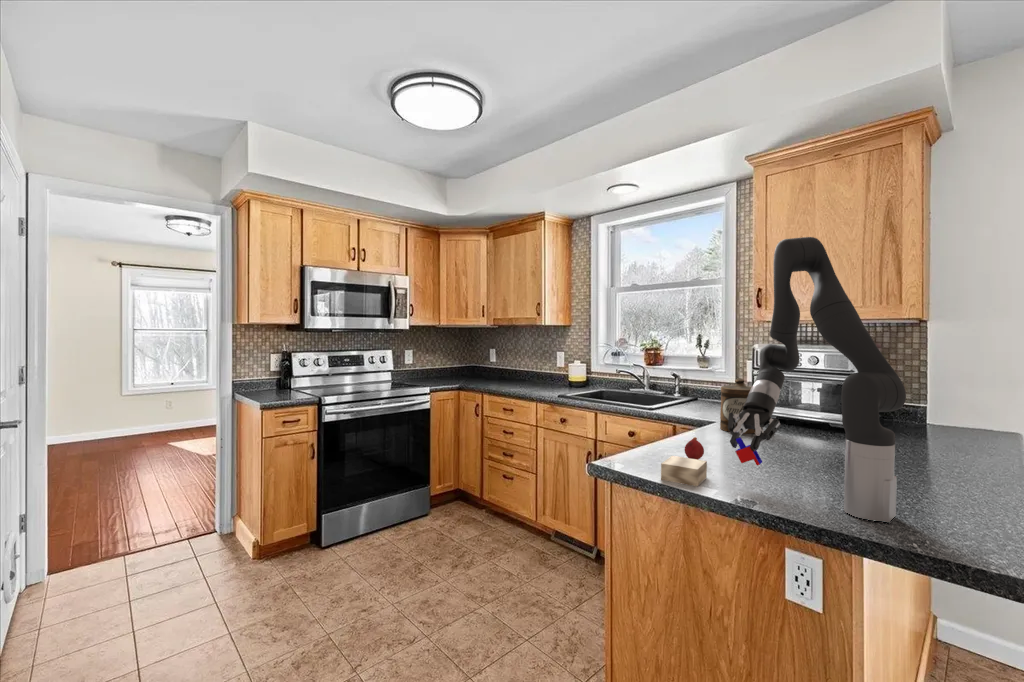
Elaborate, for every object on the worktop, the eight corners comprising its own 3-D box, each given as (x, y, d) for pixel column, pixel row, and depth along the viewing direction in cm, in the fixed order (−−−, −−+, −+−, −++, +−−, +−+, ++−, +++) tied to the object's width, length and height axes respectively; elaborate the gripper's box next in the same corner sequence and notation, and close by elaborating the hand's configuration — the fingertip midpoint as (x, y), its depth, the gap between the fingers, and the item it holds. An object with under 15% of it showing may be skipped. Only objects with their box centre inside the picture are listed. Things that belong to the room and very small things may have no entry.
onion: (691, 465, 153) (692, 439, 153) (680, 460, 159) (681, 435, 159) (707, 463, 155) (707, 438, 155) (696, 458, 160) (696, 434, 160)
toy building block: (747, 466, 134) (733, 439, 137) (762, 461, 132) (747, 434, 134) (744, 469, 132) (730, 441, 134) (760, 464, 129) (744, 436, 131)
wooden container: (722, 432, 200) (723, 379, 199) (718, 425, 214) (719, 375, 213) (762, 435, 195) (763, 380, 195) (755, 427, 209) (756, 376, 209)
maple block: (706, 478, 141) (706, 461, 141) (697, 487, 133) (697, 469, 133) (671, 472, 147) (672, 455, 147) (661, 480, 139) (661, 463, 139)
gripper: (733, 388, 143) (712, 435, 136) (785, 393, 132) (765, 444, 125) (741, 404, 147) (721, 451, 139) (792, 410, 136) (774, 461, 128)
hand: (742, 447), depth 132 cm, fingers closed on toy building block, 4 cm apart
